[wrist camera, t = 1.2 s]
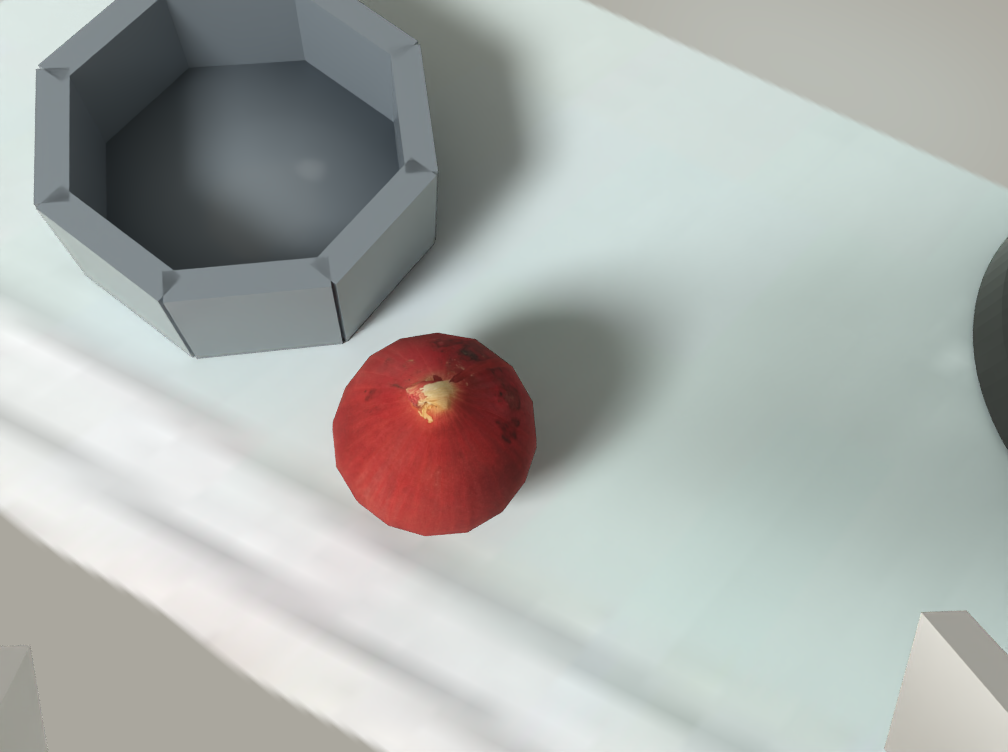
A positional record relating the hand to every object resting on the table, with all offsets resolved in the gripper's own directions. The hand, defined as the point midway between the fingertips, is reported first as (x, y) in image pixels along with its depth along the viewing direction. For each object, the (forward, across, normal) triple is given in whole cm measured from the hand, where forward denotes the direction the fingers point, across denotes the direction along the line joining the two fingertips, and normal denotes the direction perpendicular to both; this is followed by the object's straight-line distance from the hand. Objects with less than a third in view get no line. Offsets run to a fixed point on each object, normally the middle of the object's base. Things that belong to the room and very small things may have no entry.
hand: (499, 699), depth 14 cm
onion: (+17, 0, -5) cm, 17 cm away
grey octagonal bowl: (+24, -6, +2) cm, 24 cm away
